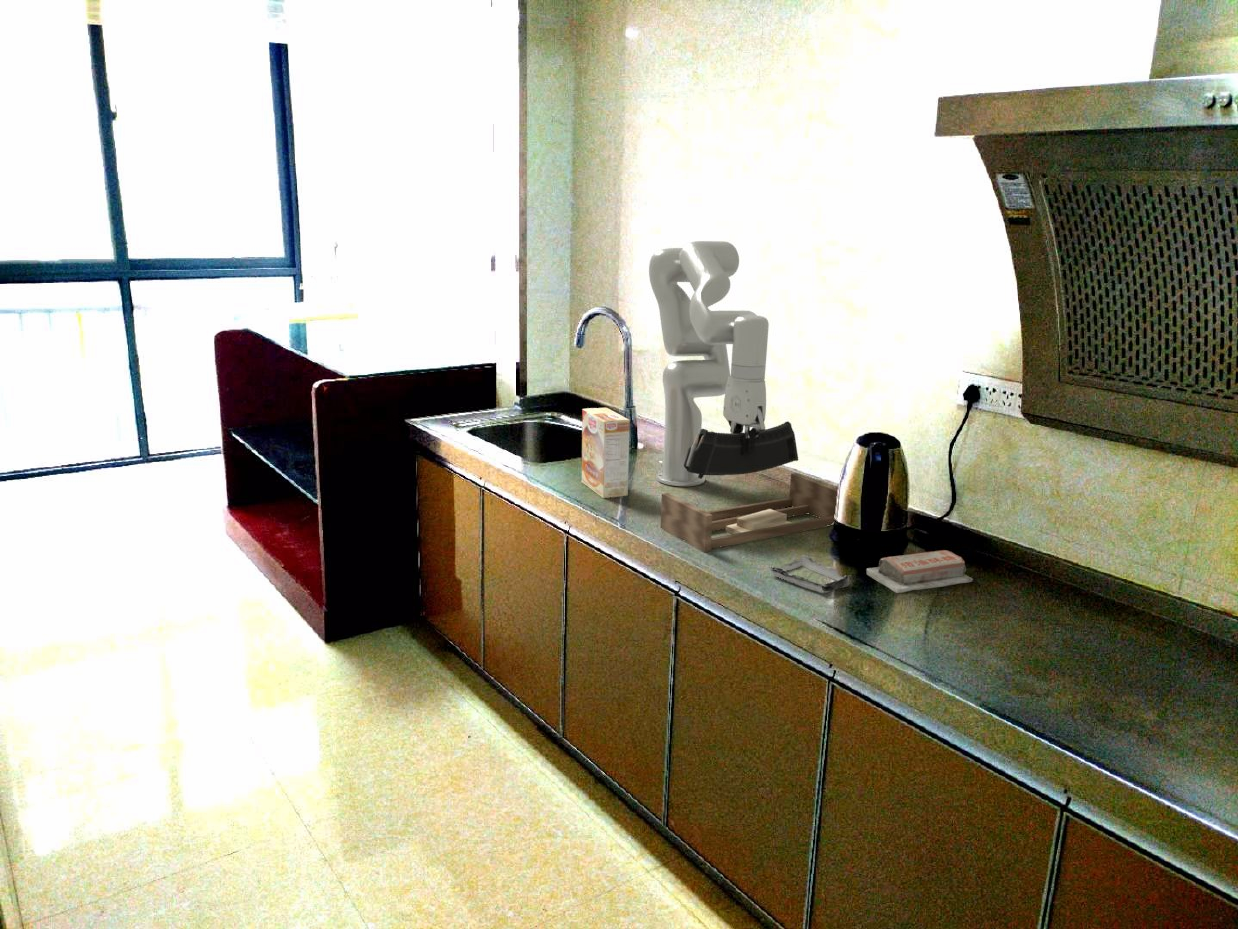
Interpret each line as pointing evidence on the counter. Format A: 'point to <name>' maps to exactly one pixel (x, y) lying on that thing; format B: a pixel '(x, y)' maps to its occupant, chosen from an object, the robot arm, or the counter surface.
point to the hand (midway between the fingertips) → (742, 451)
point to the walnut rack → (699, 523)
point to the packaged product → (920, 571)
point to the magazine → (740, 452)
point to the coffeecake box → (605, 452)
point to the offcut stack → (758, 521)
